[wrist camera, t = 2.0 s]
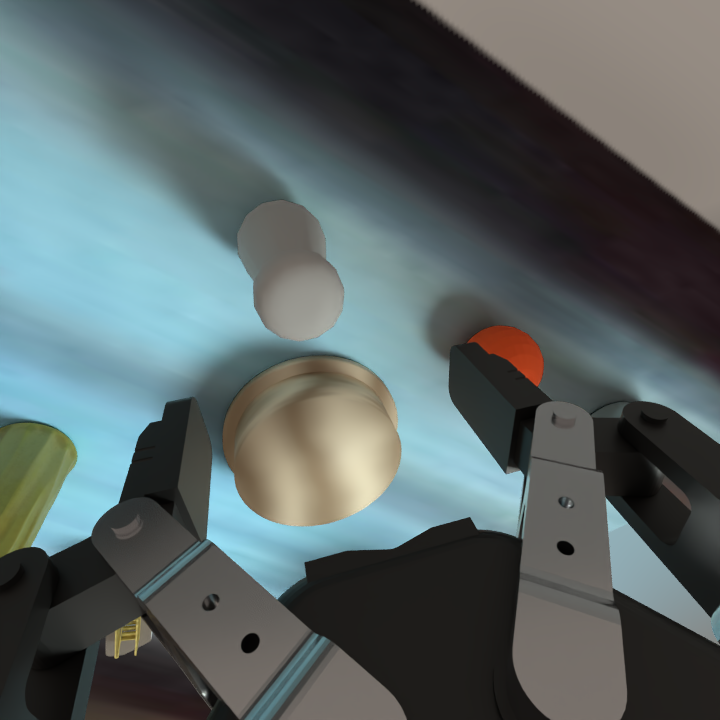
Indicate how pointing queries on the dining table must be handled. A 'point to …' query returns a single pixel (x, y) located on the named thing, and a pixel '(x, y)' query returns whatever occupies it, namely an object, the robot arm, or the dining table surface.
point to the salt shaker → (290, 270)
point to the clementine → (513, 349)
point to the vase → (30, 479)
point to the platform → (128, 638)
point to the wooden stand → (312, 440)
